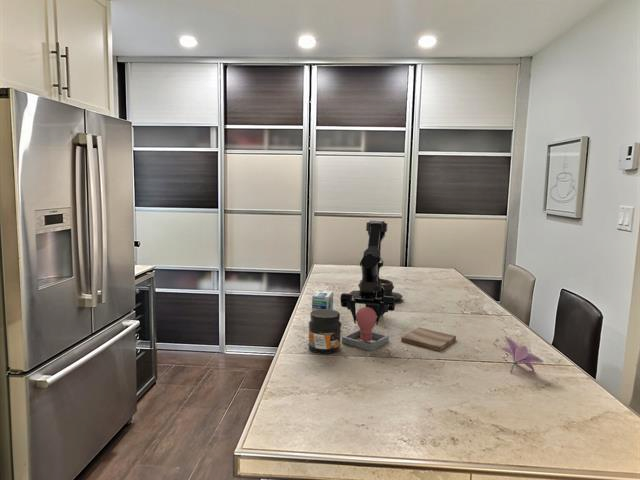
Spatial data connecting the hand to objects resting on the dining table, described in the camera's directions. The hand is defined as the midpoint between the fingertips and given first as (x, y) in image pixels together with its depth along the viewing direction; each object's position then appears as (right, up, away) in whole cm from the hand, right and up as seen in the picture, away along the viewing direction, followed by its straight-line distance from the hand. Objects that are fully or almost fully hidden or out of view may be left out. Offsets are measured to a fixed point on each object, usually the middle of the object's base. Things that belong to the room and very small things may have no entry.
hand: (365, 323), depth 149 cm
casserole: (+11, 0, +60) cm, 61 cm away
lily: (+44, -11, -18) cm, 48 cm away
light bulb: (0, -7, +2) cm, 7 cm away
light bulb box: (-15, -4, +26) cm, 30 cm away
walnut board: (+22, -7, +5) cm, 24 cm away
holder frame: (0, -7, +2) cm, 7 cm away
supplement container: (-14, -7, -5) cm, 17 cm away
